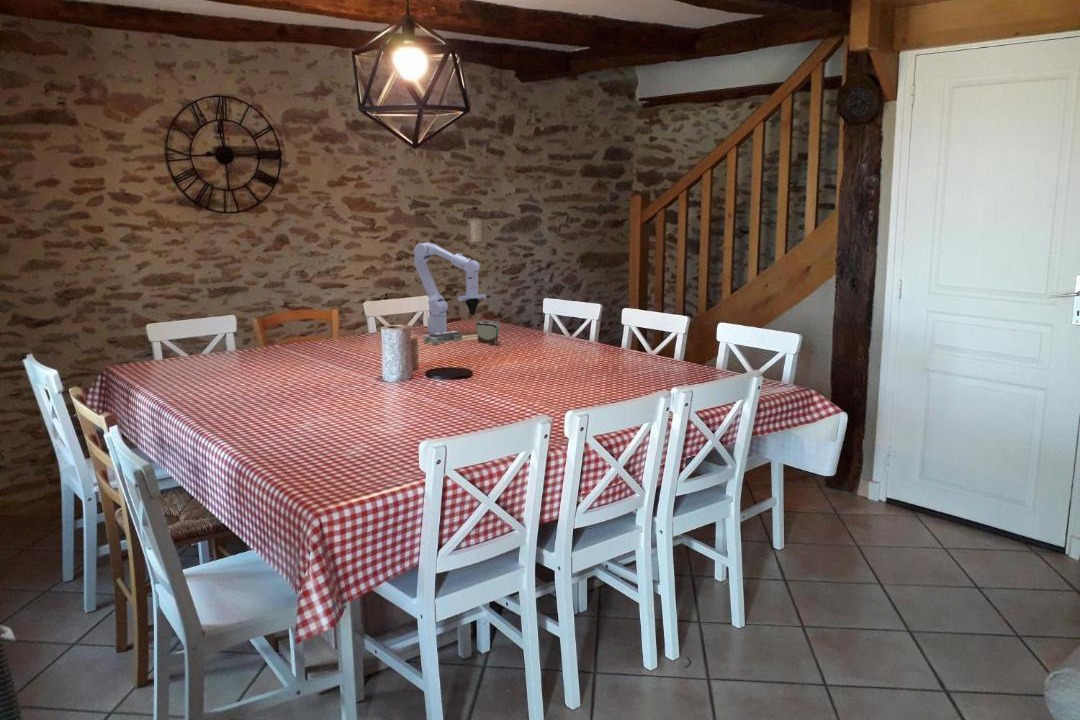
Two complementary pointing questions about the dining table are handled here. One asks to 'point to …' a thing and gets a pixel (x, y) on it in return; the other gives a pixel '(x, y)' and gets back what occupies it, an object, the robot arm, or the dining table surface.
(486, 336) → the food container
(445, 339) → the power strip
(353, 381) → the dining table surface
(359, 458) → the dining table surface
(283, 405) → the dining table surface
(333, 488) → the dining table surface
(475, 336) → the mount
